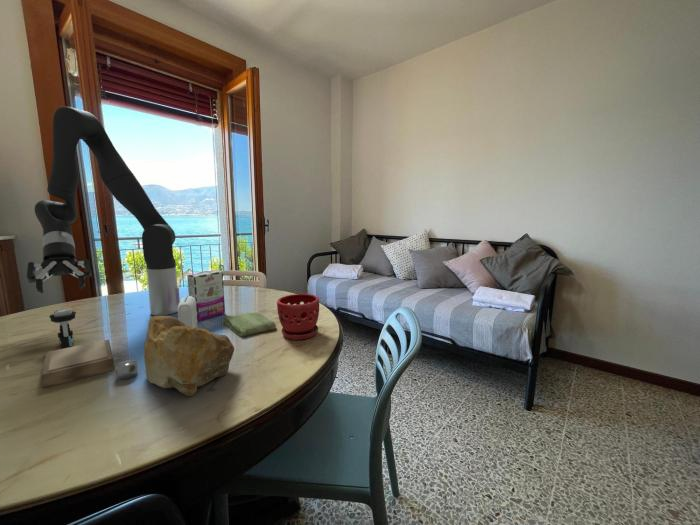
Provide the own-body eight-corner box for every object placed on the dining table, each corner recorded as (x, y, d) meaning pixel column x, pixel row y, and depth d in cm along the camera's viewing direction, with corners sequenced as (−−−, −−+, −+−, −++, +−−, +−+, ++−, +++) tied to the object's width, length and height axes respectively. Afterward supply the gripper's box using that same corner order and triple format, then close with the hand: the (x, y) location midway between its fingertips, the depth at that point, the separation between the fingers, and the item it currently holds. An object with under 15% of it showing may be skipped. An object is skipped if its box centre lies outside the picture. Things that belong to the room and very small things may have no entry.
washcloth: (258, 316, 113) (257, 308, 112) (278, 330, 99) (278, 321, 99) (221, 323, 105) (221, 314, 104) (238, 340, 91) (238, 330, 91)
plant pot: (303, 323, 105) (303, 290, 103) (327, 335, 95) (327, 298, 93) (269, 333, 96) (269, 297, 94) (293, 346, 86) (292, 307, 84)
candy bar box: (217, 311, 116) (215, 269, 113) (225, 313, 113) (223, 271, 111) (189, 319, 106) (186, 274, 104) (197, 322, 104) (194, 276, 101)
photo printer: (184, 330, 96) (181, 293, 94) (198, 329, 98) (196, 292, 96) (178, 343, 87) (175, 302, 85) (194, 341, 88) (192, 301, 86)
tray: (110, 349, 82) (108, 338, 81) (114, 369, 72) (113, 357, 71) (48, 363, 74) (46, 350, 73) (43, 388, 64) (41, 373, 63)
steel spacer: (136, 369, 72) (135, 358, 72) (138, 376, 69) (137, 364, 69) (115, 375, 69) (114, 363, 69) (117, 382, 66) (115, 370, 66)
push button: (52, 343, 85) (47, 309, 83) (77, 337, 89) (73, 305, 87) (54, 350, 81) (49, 315, 79) (80, 344, 85) (76, 310, 83)
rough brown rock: (255, 386, 68) (257, 321, 67) (176, 416, 55) (177, 337, 54) (208, 356, 83) (209, 303, 82) (137, 375, 70) (137, 312, 69)
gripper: (24, 241, 90) (25, 286, 83) (87, 240, 99) (92, 279, 93) (29, 257, 95) (30, 300, 88) (88, 254, 104) (93, 292, 97)
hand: (61, 289), depth 90 cm, fingers open, 8 cm apart
